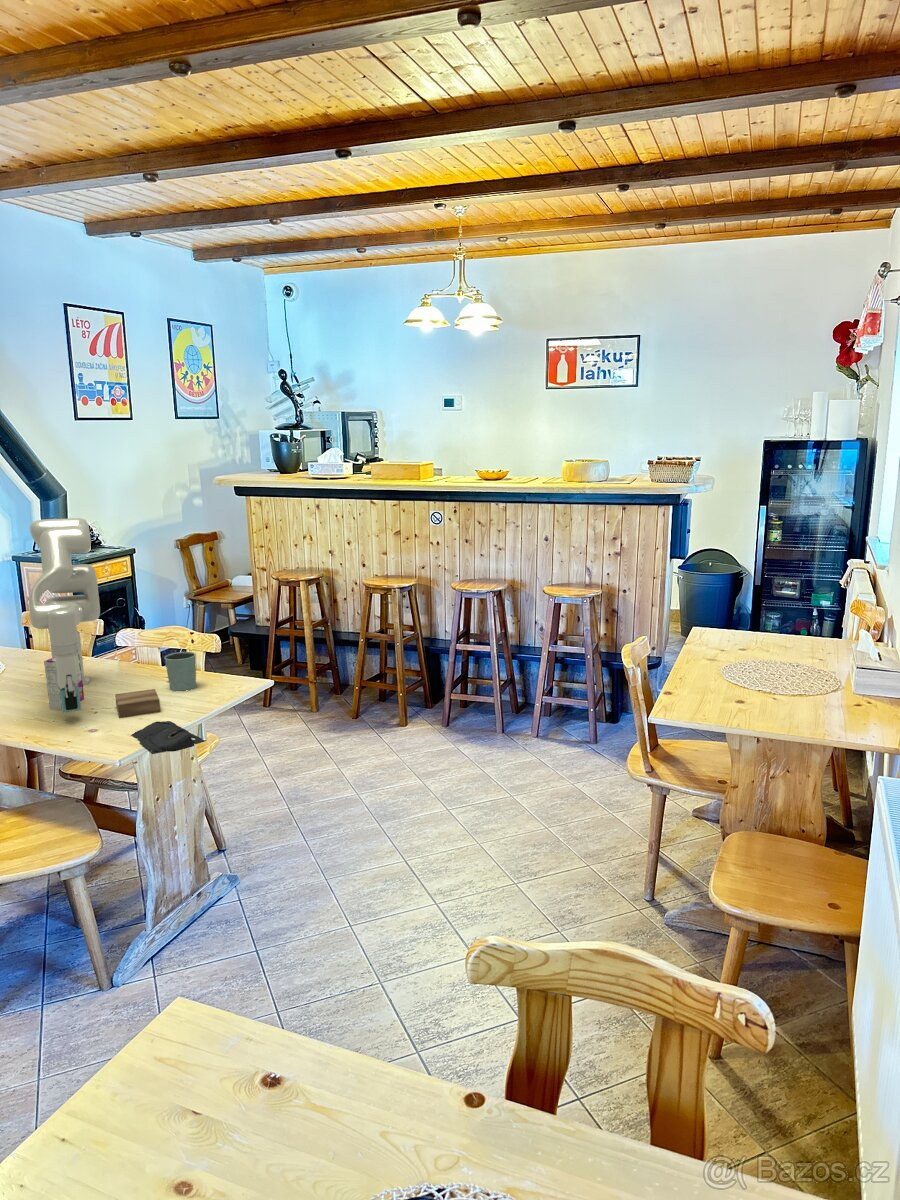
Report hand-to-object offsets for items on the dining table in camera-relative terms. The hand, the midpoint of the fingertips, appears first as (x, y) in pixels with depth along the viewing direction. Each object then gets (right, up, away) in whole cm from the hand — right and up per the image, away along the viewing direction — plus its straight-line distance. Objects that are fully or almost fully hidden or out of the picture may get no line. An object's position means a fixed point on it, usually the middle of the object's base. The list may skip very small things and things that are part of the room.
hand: (70, 705), depth 243 cm
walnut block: (+17, -3, +10) cm, 20 cm away
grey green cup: (+23, +1, +32) cm, 39 cm away
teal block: (0, -1, 0) cm, 1 cm away
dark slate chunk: (+35, -9, -16) cm, 39 cm away
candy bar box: (-9, -2, +16) cm, 18 cm away
